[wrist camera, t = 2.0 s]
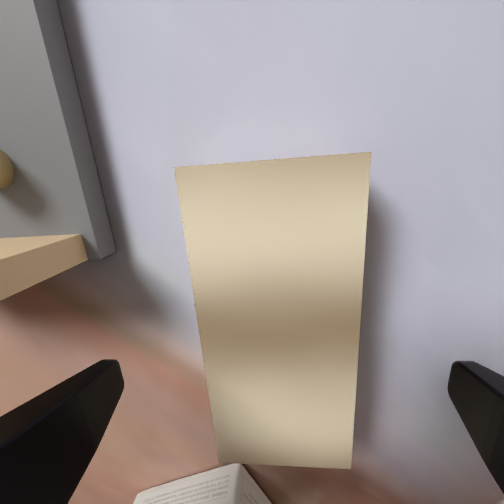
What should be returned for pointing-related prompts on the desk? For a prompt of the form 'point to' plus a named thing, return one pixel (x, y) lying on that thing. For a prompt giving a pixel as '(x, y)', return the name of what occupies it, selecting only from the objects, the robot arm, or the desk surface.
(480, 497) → the desk surface
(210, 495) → the supplement box
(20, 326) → the desk surface
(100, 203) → the peg base
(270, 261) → the board
